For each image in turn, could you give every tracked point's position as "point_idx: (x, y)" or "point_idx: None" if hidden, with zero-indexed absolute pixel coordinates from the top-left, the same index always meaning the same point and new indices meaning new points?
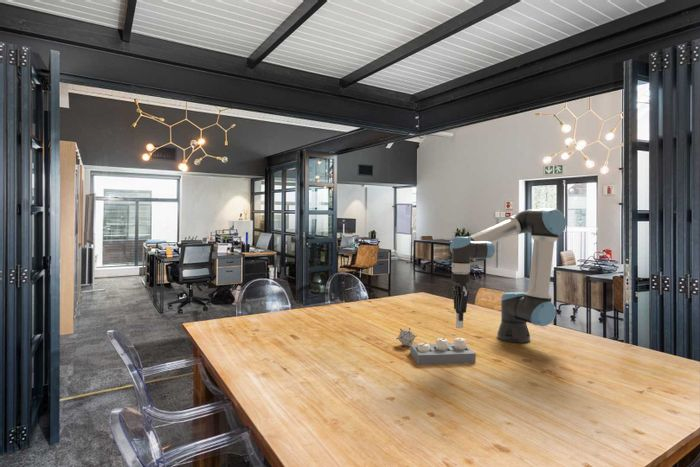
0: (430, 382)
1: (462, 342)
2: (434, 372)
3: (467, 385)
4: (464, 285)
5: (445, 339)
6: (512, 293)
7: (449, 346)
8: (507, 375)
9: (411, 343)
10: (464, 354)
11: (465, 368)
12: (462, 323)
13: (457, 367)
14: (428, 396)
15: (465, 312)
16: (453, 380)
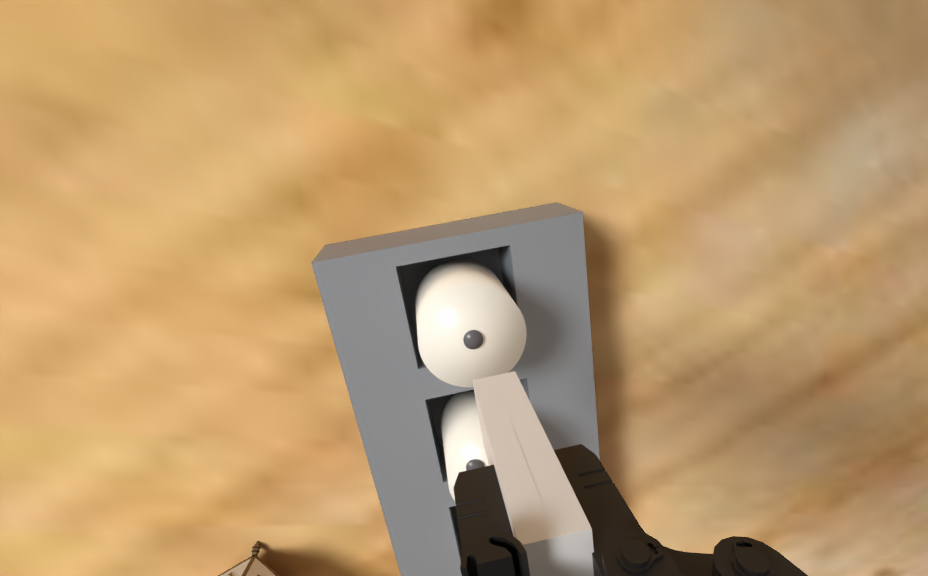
0: (789, 463)
1: (522, 321)
2: (684, 443)
3: (852, 316)
4: None
5: (479, 452)
6: None
7: (424, 378)
8: (779, 44)
9: (269, 567)
10: (586, 295)
11: (644, 285)
12: (532, 413)
13: (626, 327)
14: (904, 473)
15: (748, 542)
16: (788, 369)
